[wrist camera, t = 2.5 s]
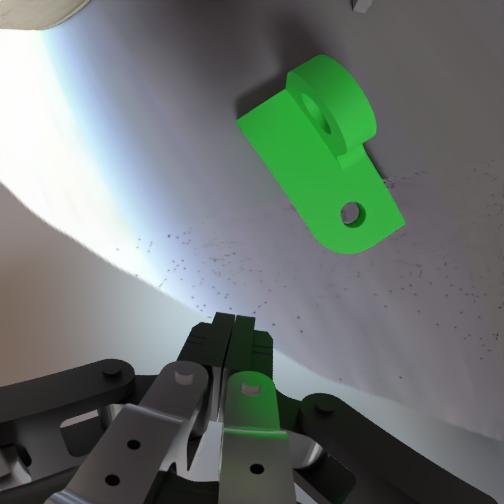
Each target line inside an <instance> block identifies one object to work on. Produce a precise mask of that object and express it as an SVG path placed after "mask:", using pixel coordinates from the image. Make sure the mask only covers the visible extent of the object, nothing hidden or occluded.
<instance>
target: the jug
mask: <svg viewBox="0 0 504 504" xmlns="http://www.w3.org/2000/svg"><path fill="white" fill-rule="evenodd" d="M90 1H91V0H0V29H17V30H45V29H49V28H52V27H54V26H57V25H59V24H61V23H62V22H64V21H66V20H67V19H69V18H70V17H72V16H73V15H74V14H76V13H77V12H78V11H80V10H81V9H82V8H83V7H85V6H86V5H87V4H88V3H89V2H90Z"/></svg>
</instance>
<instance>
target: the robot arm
mask: <svg viewBox="0 0 504 504" xmlns="http://www.w3.org/2000/svg"><path fill="white" fill-rule="evenodd" d="M254 326H255V317H248V316H241V315H237V316H236V320H235V315H233V314H227V313H220V312H216V314H215V317H214V319H213V322H212V324H210V323H204V322H201V323H199V324H198V325H196V326H194V327H193V328H192V330H191V332H190V334H189V336H188V338H187V340H186V342H185V344H184V346H183V348H182V350H181V352H180V354H179V356H178V358H177V361H175V362H172V363H169V364H167V365H166V366H165V367H164V368H163V369H162V370H161V372H160V374H158V375H135V372H134V369H133V367H132V366H131V365H130V364H129V363H127V362H125V361H122V360H118V359H105V360H101V361H97V362H94V363H90V364H87V365H84V366H80V367H77V368H73V369H69V370H66V371H62V372H58V373H55V374H51V375H47V376H43V377H40V378H36V379H32V380H28V381H24V382H20V383H16V384H12V385H8V386H3V387H0V504H301V503H299V502H297V501H296V493H295V486H294V482H295V483H296V484H297V485H298V486H299V487H300V488H301V489H303V490H304V491H305V492H306V493H307V494H308V495H309V496H310V497H311V498H312V499H313V500H314V501H316V502H317V503H318V504H498V503H497V502H496V501H495V500H494V499H493V498H492V497H491V496H489V495H487V494H485V493H484V492H482V491H480V490H478V489H477V488H475V487H473V486H471V485H470V484H468V483H466V482H464V481H463V480H461V479H459V478H458V477H456V476H454V475H453V474H451V473H449V472H448V471H446V470H444V469H443V468H441V467H440V466H438V465H436V464H435V463H433V462H432V461H430V460H429V459H427V458H425V457H424V456H422V455H421V454H419V453H417V452H416V451H414V450H413V449H411V448H410V447H408V446H407V445H405V444H404V443H402V442H401V441H399V440H398V439H396V438H395V437H393V436H392V435H391V434H389V433H387V432H386V431H385V430H383V429H382V428H380V427H379V426H377V425H376V424H374V423H373V422H372V421H370V420H369V419H367V418H365V417H364V416H363V415H362V414H360V413H359V412H357V411H356V410H355V409H353V408H352V407H350V406H349V405H348V404H346V403H345V402H344V401H342V400H341V399H339V398H337V397H335V396H333V395H330V394H325V393H314V394H311V395H308V396H306V397H305V398H304V399H303V400H302V401H298V400H295V399H292V398H289V397H287V396H285V395H283V394H282V393H280V392H279V391H278V390H277V389H276V388H275V384H274V382H273V339H272V337H271V336H270V335H269V333H268V332H265V331H258V330H254ZM219 408H220V411H219ZM96 409H97V412H98V416H97V417H94V418H91V419H88V420H85V421H82V422H79V423H76V424H73V425H70V426H67V427H63V428H60V425H61V423H62V422H63V421H65V420H66V419H69V418H73V417H76V416H79V415H82V414H85V413H88V412H91V411H94V410H96ZM218 412H219V422H222V423H223V427H222V436H221V446H220V458H219V470H218V481H213V482H212V481H211V482H194V481H190V480H189V479H190V476H191V474H192V471H193V468H194V466H195V463H196V460H197V458H198V455H199V452H200V450H201V447H202V444H203V441H204V438H205V432H206V430H207V427H208V423H209V421H215V422H216V421H217V417H218ZM331 455H332V456H333V457H332V456H331ZM337 460H338V461H339V462H338V461H337ZM342 464H343V465H344V466H343V465H342ZM347 468H348V469H349V470H348V469H347Z"/></svg>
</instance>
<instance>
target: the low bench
mask: <svg viewBox="0 0 504 504" xmlns="http://www.w3.org/2000/svg"><path fill="white" fill-rule="evenodd" d="M372 1H373V0H353V11H355V12H359V13H363V14H365V13H366V11H367V10H368V8H369V6H370V5H371V3H372Z"/></svg>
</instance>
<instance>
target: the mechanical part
mask: <svg viewBox="0 0 504 504" xmlns="http://www.w3.org/2000/svg"><path fill="white" fill-rule="evenodd" d="M235 122H236V124H237V125H238V126H239V128H240V129H241V130H242V132H243V133H244V135H245V136H246V137H247V139H248V140H249V141H250V143H251V144H252V146H253V147H254V148H255V150H256V151H257V153H258V154H259V155H260V157H261V158H262V160H263V161H264V162H265V164H266V165H267V167H268V168H269V170H270V171H271V172H272V174H273V175H274V177H275V178H276V180H277V181H278V183H279V184H280V185H281V187H282V188H283V190H284V191H285V193H286V194H287V196H288V197H289V199H290V200H291V202H292V203H293V205H294V206H295V208H296V209H297V211H298V212H299V214H300V215H301V217H302V218H303V220H304V221H305V223H306V224H307V226H308V227H309V229H310V230H311V232H312V233H313V235H314V236H315V238H316V239H317V240H318V241H319V242H320V243H321V244H322V245H324V246H325V247H327V248H328V249H330V250H332V251H335V252H338V253H344V254H352V253H358V252H362V251H364V250H367V249H369V248H370V247H372V246H373V245H375V244H376V243H378V242H379V241H381V240H382V239H384V238H385V237H387V236H388V235H390V234H391V233H393V232H394V231H395V230H397V229H398V228H400V227H401V226H403V225H404V224H406V223H405V221H404V219H403V217H402V215H401V213H400V211H399V209H398V208H397V206H396V204H395V202H394V200H393V198H392V197H391V195H390V193H389V191H388V189H387V188H386V186H385V184H384V182H383V181H382V179H381V177H380V176H379V174H378V172H377V170H376V169H375V167H374V166H373V164H372V162H371V161H370V159H369V157H368V156H367V154H366V152H365V150H364V148H363V145H362V143H364V142H365V141H367V140H368V139H370V138H372V137H373V136H374V135H375V134H376V130H377V127H376V120H375V117H374V113H373V111H372V108H371V106H370V104H369V102H368V100H367V98H366V96H365V94H364V93H363V91H362V89H361V88H360V86H359V85H358V84H357V82H356V81H355V80H354V78H353V77H352V76H351V75H350V74H349V73H348V72H347V70H346V69H345V68H344V67H342V66H341V65H340V64H339V63H338V62H337V61H335V60H334V59H332V58H331V57H329V56H326V55H322V54H320V55H318V56H316V57H314V58H312V59H310V60H309V61H307V62H305V63H303V64H302V65H300V66H298V67H296V68H295V69H293V70H291V71H290V72H288V74H287V81H286V89H284V90H283V91H281V92H279V93H278V94H276V95H275V96H273V97H271V98H270V99H268V100H267V101H265V102H264V103H262V104H261V105H259V106H258V107H256V108H254V109H253V110H251V111H250V112H248V113H247V114H245V115H244V116H243V117H241V118H240V119H238V120H237V121H235ZM351 201H355V202H356V203H357V205H358V207H359V216H358V218H357V219H356V220H355V221H354V222H352V223H349V224H345V223H343V222H342V220H341V217H340V213H341V209H342V207H343V206H344V205H345V204H346V203H348V202H351Z"/></svg>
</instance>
